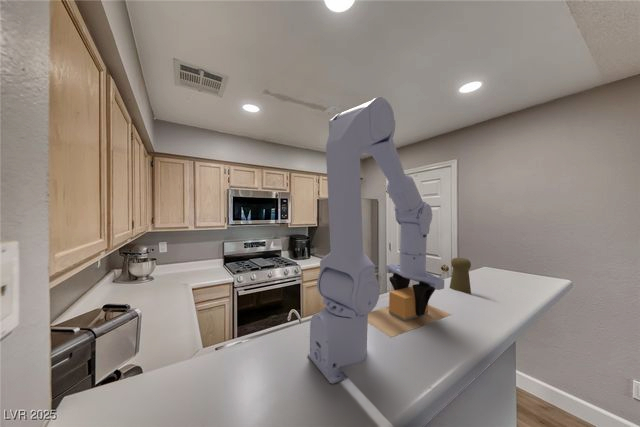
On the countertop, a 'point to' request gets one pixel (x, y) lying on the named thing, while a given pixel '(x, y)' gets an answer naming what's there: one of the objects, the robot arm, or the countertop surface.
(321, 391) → the countertop surface
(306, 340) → the countertop surface
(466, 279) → the cork
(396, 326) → the pine board
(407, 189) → the robot arm
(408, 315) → the block
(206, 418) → the countertop surface
